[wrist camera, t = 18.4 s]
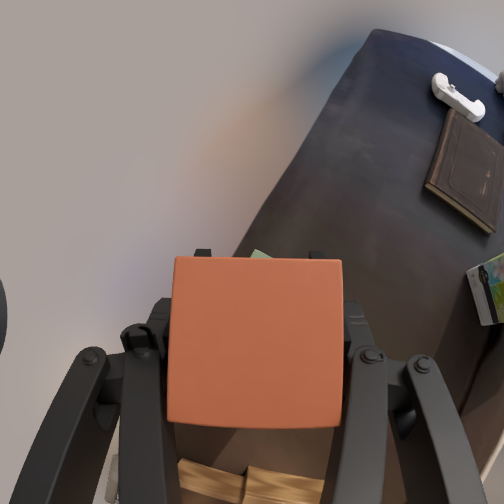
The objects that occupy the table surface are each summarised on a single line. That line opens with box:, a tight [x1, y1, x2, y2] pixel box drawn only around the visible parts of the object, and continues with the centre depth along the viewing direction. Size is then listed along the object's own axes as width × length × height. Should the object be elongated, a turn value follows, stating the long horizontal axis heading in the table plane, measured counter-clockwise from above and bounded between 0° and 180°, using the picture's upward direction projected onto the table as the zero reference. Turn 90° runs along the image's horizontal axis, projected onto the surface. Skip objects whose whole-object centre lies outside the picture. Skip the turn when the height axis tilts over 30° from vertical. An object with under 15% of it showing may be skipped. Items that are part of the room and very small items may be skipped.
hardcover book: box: [424, 108, 504, 236], centre depth 47 cm, size 16×23×2 cm
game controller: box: [432, 73, 485, 122], centre depth 51 cm, size 14×4×10 cm
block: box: [167, 256, 344, 429], centre depth 13 cm, size 5×5×10 cm
